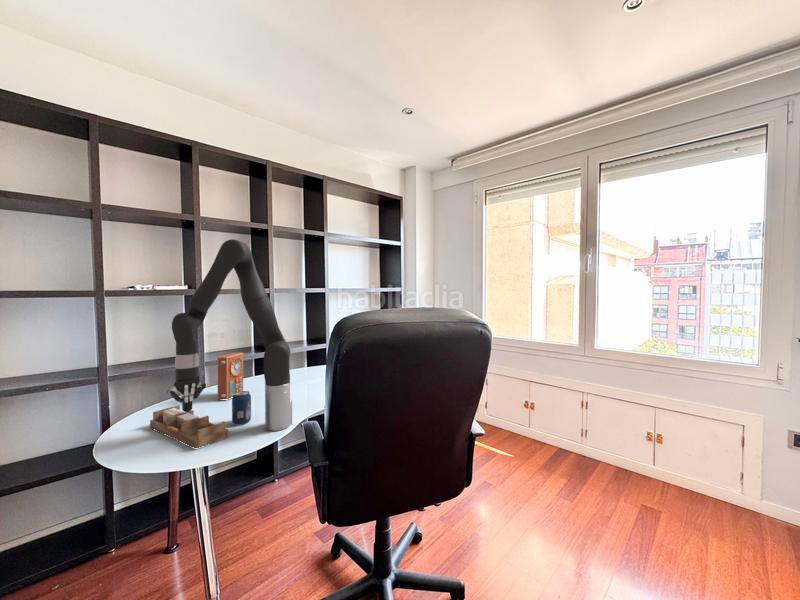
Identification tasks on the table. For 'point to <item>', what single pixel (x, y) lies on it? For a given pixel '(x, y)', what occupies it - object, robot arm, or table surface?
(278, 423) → the robot arm
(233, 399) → the soda can
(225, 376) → the control panel
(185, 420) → the white rectangular block
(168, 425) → the rack
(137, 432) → the table surface
